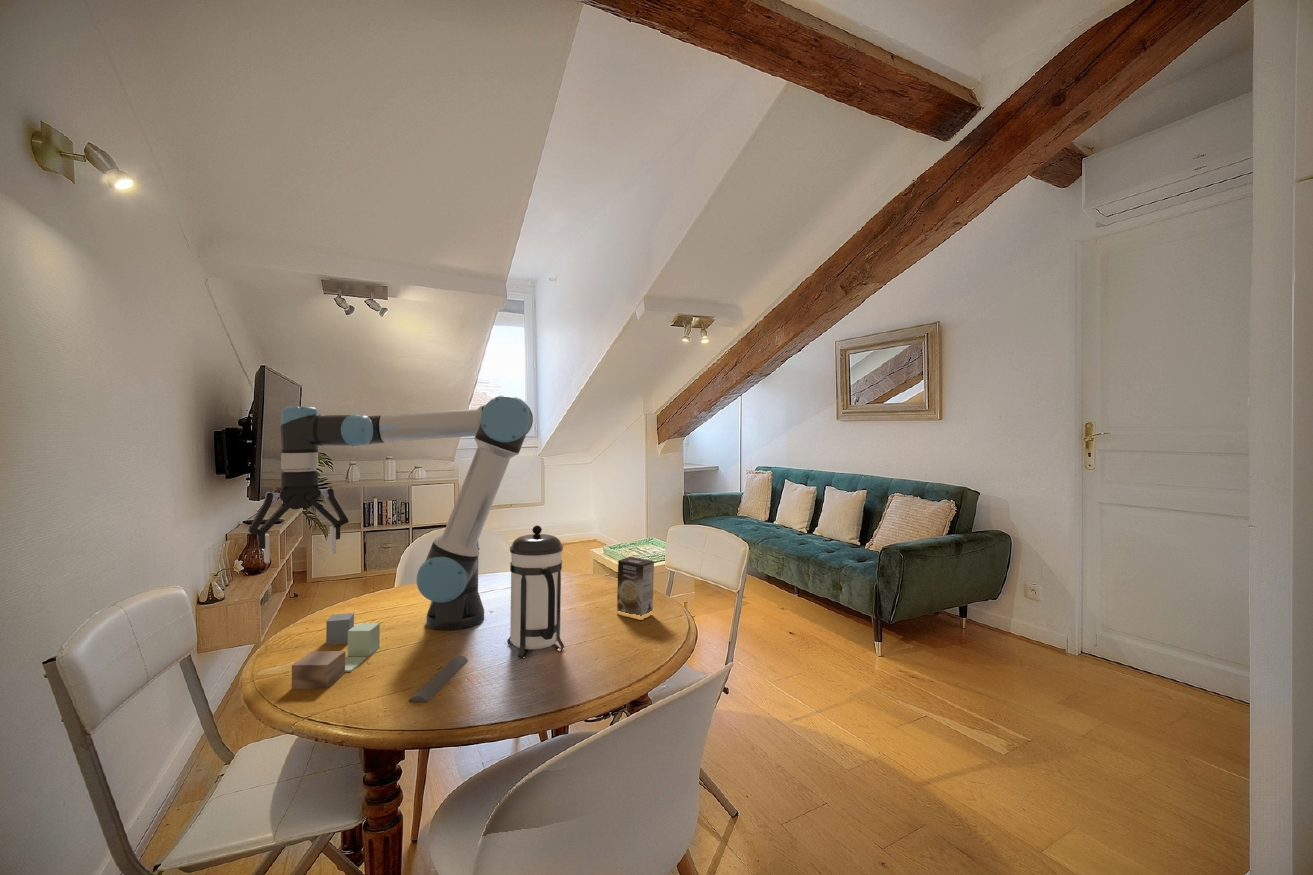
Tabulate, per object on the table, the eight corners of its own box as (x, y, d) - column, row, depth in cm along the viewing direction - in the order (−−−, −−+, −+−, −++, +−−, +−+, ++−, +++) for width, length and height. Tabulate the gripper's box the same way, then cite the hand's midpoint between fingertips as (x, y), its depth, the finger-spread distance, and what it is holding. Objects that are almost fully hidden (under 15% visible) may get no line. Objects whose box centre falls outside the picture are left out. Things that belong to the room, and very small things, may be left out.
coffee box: (615, 615, 156) (616, 560, 156) (628, 609, 162) (629, 556, 162) (641, 621, 151) (642, 564, 151) (654, 615, 157) (654, 560, 157)
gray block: (353, 636, 137) (354, 613, 137) (349, 643, 133) (349, 619, 133) (331, 638, 136) (331, 614, 136) (326, 645, 131) (326, 621, 131)
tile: (366, 658, 124) (366, 656, 124) (350, 672, 117) (351, 670, 117) (335, 658, 124) (335, 657, 124) (317, 672, 117) (317, 670, 117)
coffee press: (488, 655, 127) (489, 528, 127) (526, 632, 142) (528, 519, 142) (552, 667, 121) (554, 534, 121) (585, 642, 136) (587, 523, 136)
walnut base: (345, 674, 116) (345, 651, 116) (327, 689, 109) (327, 664, 109) (311, 674, 116) (311, 651, 116) (291, 689, 109) (291, 665, 109)
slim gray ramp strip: (406, 704, 105) (406, 695, 105) (451, 662, 124) (451, 654, 124) (428, 705, 104) (428, 696, 104) (469, 663, 124) (469, 655, 124)
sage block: (379, 647, 131) (379, 623, 130) (369, 656, 126) (369, 630, 125) (358, 647, 130) (358, 623, 130) (347, 656, 125) (347, 630, 125)
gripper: (353, 467, 142) (354, 547, 142) (233, 472, 125) (234, 563, 125) (361, 468, 136) (362, 551, 137) (237, 474, 119) (238, 569, 119)
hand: (301, 557), depth 131 cm, fingers open, 13 cm apart
